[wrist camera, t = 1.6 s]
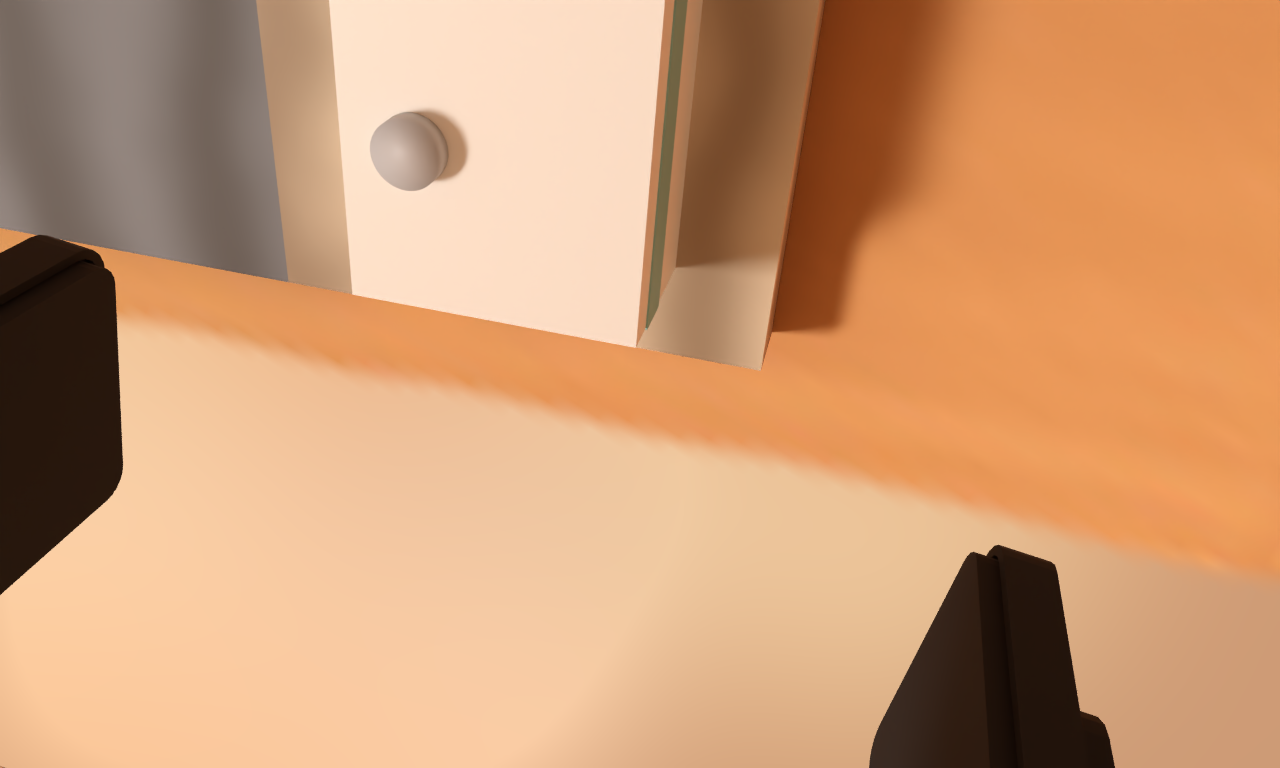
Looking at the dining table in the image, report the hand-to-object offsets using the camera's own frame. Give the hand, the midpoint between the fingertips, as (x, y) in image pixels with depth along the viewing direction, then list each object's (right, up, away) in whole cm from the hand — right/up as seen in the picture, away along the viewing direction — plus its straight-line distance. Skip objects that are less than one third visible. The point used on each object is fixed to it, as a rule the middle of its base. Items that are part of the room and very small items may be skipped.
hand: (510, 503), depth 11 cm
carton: (-1, +9, +19) cm, 21 cm away
